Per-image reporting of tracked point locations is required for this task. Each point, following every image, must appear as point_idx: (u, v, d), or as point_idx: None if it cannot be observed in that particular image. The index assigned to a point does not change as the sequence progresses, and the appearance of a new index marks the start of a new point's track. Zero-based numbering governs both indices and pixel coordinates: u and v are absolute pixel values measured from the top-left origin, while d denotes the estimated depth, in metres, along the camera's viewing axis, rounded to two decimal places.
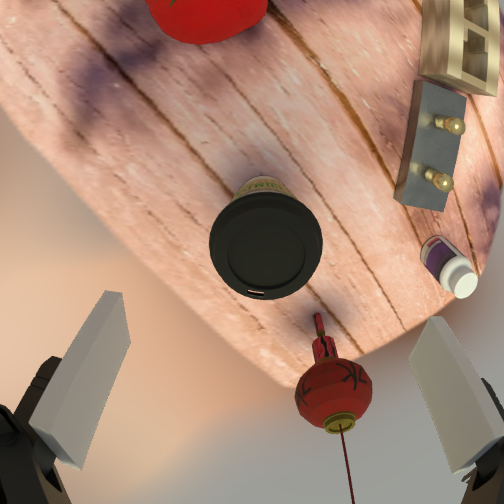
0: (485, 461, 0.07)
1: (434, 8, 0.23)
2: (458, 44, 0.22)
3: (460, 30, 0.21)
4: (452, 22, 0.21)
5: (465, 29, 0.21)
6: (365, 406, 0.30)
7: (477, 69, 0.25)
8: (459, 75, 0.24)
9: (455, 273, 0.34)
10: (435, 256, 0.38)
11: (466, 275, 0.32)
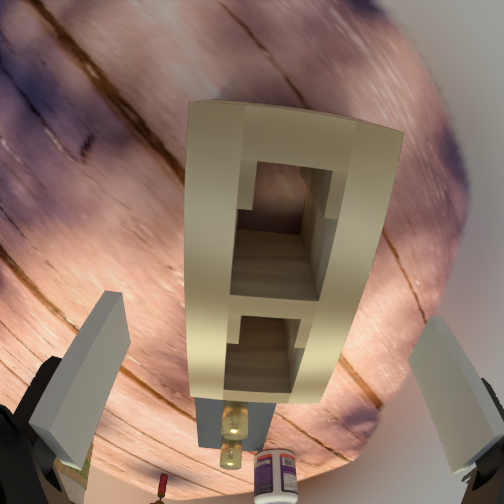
0: (485, 461, 0.07)
1: None
2: (211, 354, 0.16)
3: (217, 326, 0.15)
4: (192, 315, 0.14)
5: (233, 320, 0.14)
6: None
7: (293, 349, 0.18)
8: (218, 395, 0.17)
9: None
10: (256, 478, 0.31)
11: None
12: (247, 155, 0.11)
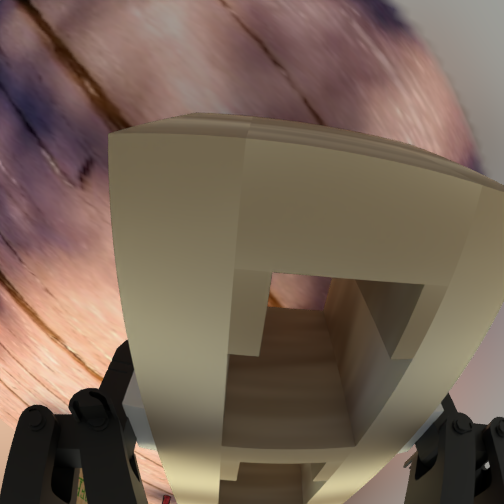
0: (423, 447, 0.08)
1: None
2: (200, 484, 0.09)
3: (205, 468, 0.08)
4: (169, 456, 0.08)
5: (228, 465, 0.08)
6: None
7: None
8: None
9: None
10: None
11: None
12: (249, 259, 0.05)
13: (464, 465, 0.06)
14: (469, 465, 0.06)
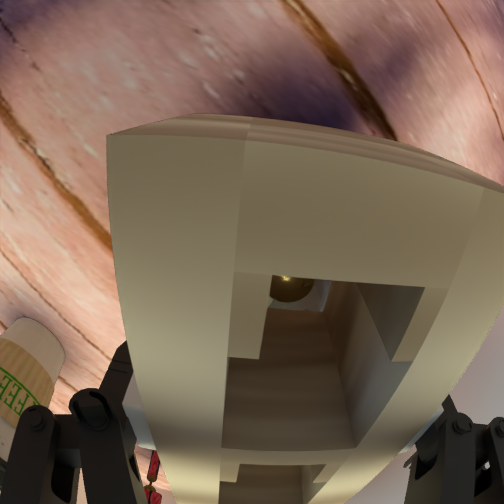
0: (423, 447, 0.08)
1: None
2: (200, 486, 0.09)
3: (205, 469, 0.08)
4: (169, 458, 0.08)
5: (228, 467, 0.08)
6: None
7: None
8: None
9: None
10: None
11: None
12: (249, 262, 0.05)
13: (464, 465, 0.06)
14: (469, 465, 0.06)
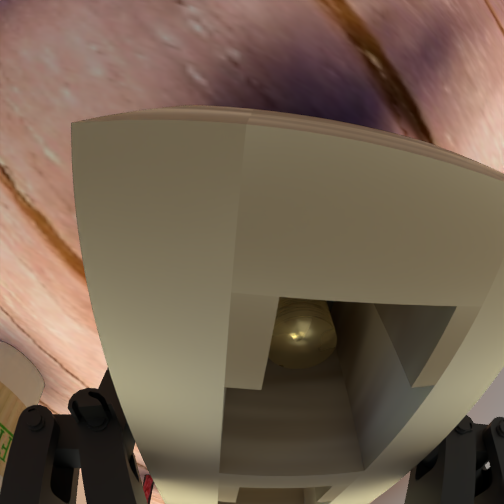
0: None
1: None
2: None
3: (202, 491, 0.07)
4: (163, 480, 0.07)
5: (227, 489, 0.07)
6: None
7: None
8: None
9: None
10: None
11: None
12: (251, 281, 0.04)
13: (464, 465, 0.06)
14: (469, 465, 0.06)
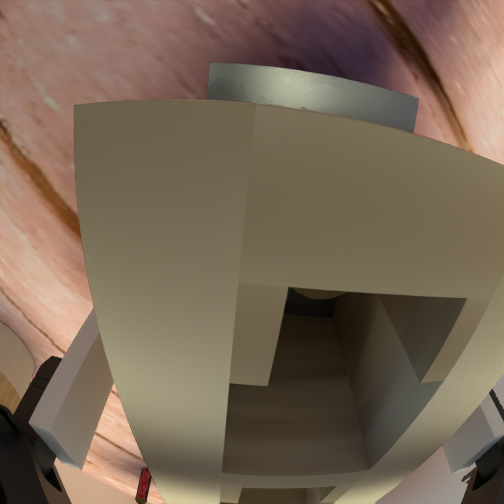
0: (485, 461, 0.07)
1: None
2: None
3: (204, 492, 0.07)
4: (164, 480, 0.07)
5: (229, 490, 0.07)
6: None
7: None
8: None
9: None
10: None
11: None
12: (259, 270, 0.04)
13: None
14: None
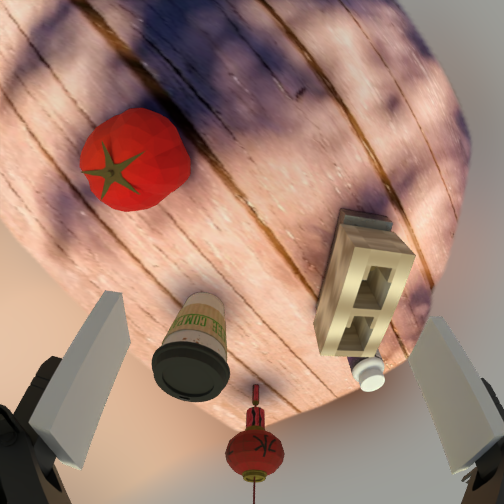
0: (485, 461, 0.07)
1: (333, 283, 0.39)
2: (338, 332, 0.38)
3: (344, 320, 0.37)
4: (336, 316, 0.37)
5: (350, 317, 0.37)
6: (274, 467, 0.39)
7: (364, 332, 0.40)
8: (333, 354, 0.39)
9: (364, 372, 0.43)
10: None
11: (371, 377, 0.42)
12: (368, 263, 0.34)
13: None
14: None
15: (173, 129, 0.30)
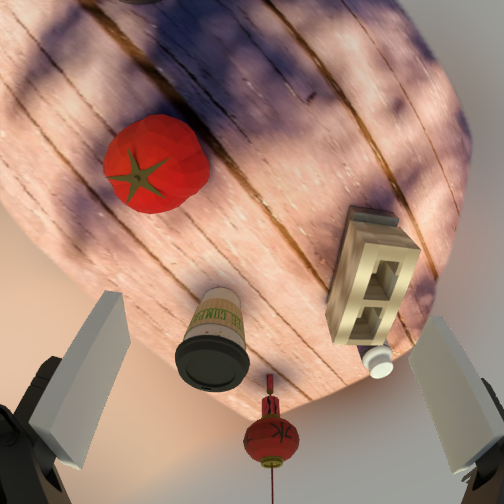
0: (485, 461, 0.07)
1: (344, 276, 0.41)
2: (349, 322, 0.40)
3: (355, 311, 0.39)
4: (348, 307, 0.39)
5: (361, 308, 0.39)
6: (290, 452, 0.42)
7: (373, 321, 0.43)
8: (345, 342, 0.42)
9: (373, 360, 0.46)
10: None
11: (380, 364, 0.44)
12: (377, 258, 0.36)
13: None
14: None
15: (193, 135, 0.32)
